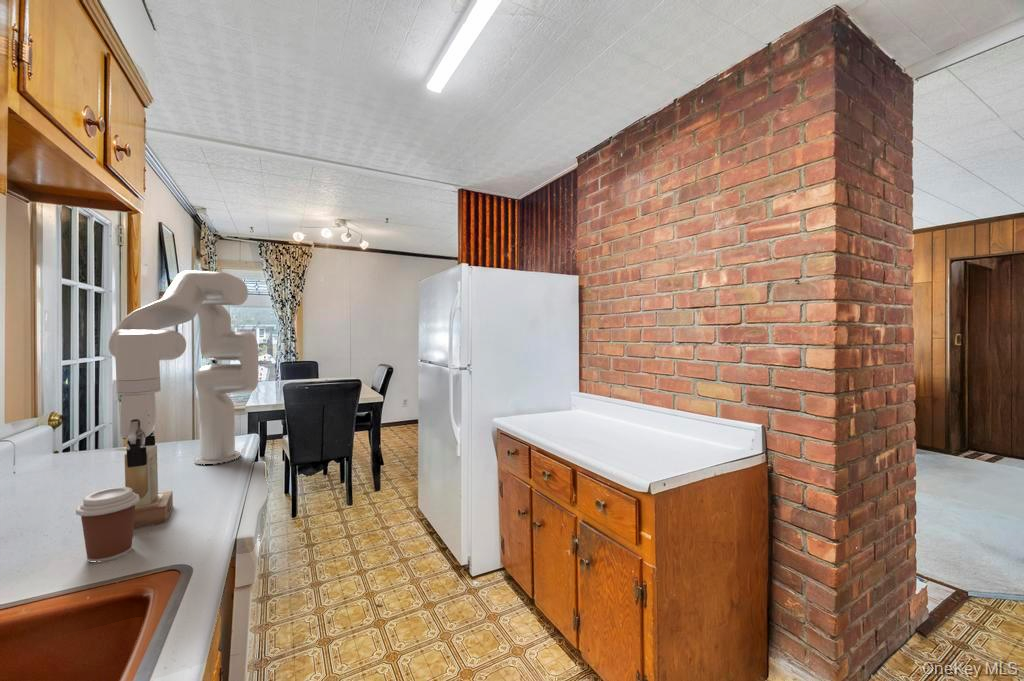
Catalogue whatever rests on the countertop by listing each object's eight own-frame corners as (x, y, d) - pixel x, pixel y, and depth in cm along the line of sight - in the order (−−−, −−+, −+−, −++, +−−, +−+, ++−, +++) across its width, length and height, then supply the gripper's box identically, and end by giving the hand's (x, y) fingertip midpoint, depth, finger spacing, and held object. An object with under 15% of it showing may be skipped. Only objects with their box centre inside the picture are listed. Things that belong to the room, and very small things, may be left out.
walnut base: (118, 515, 99) (118, 498, 99) (172, 506, 105) (172, 490, 104) (106, 533, 91) (105, 515, 91) (165, 522, 96) (165, 505, 96)
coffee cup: (132, 537, 89) (131, 481, 89) (147, 550, 84) (146, 491, 84) (71, 556, 82) (69, 495, 81) (83, 572, 77) (81, 507, 76)
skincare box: (135, 497, 100) (134, 446, 99) (159, 494, 102) (157, 444, 101) (124, 508, 94) (123, 454, 94) (149, 505, 96) (148, 451, 95)
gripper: (126, 381, 102) (129, 450, 103) (105, 394, 87) (109, 474, 89) (166, 379, 106) (169, 446, 107) (152, 391, 91) (155, 468, 93)
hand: (142, 459), depth 98 cm, fingers open, 9 cm apart
